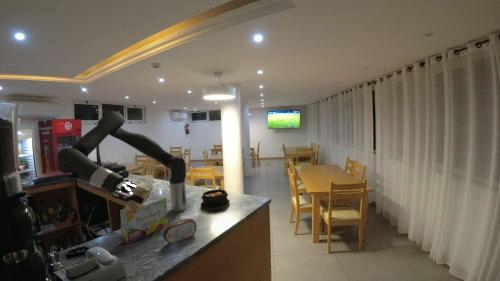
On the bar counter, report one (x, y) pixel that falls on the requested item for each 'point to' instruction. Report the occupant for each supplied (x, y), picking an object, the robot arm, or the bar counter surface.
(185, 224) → the tin
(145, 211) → the snack box
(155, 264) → the bar counter surface
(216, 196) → the casserole
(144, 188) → the beech block
